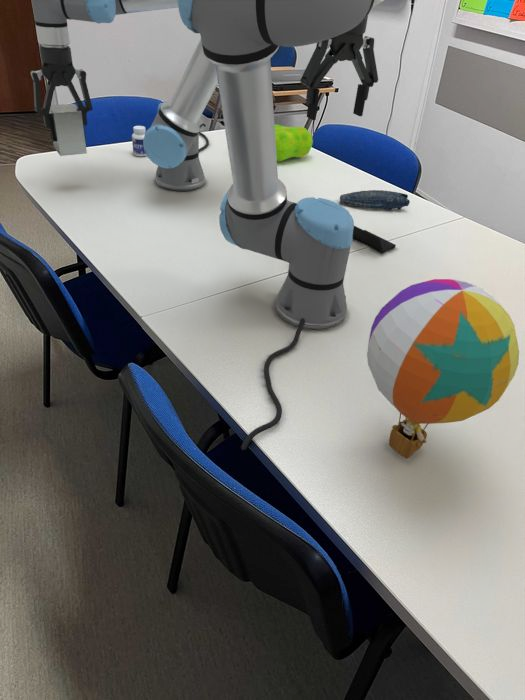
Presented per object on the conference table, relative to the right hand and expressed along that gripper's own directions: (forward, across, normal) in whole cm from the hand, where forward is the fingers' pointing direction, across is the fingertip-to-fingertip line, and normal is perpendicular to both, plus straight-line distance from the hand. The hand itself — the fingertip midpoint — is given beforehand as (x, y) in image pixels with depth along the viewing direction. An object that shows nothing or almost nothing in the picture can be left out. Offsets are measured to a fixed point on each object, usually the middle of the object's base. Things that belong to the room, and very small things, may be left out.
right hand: (334, 116), depth 123 cm
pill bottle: (+30, +25, -74) cm, 84 cm away
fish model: (+30, -27, -10) cm, 42 cm away
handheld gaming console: (+30, -10, +11) cm, 34 cm away
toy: (+30, +30, +70) cm, 82 cm away
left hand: (+16, +53, -51) cm, 75 cm away
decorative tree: (+30, -18, -58) cm, 68 cm away
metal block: (+19, +53, -51) cm, 76 cm away
